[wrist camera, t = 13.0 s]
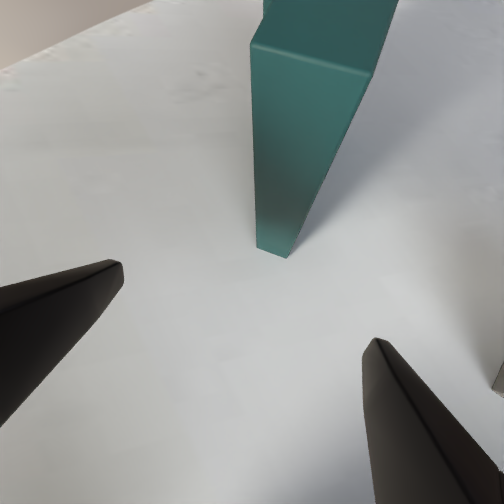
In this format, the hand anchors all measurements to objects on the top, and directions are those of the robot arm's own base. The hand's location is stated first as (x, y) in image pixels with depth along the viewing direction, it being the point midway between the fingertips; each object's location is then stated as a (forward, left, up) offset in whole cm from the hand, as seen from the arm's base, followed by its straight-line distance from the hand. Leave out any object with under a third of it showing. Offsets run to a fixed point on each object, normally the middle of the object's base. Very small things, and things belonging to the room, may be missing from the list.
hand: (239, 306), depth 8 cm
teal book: (+6, +4, -9) cm, 11 cm away
